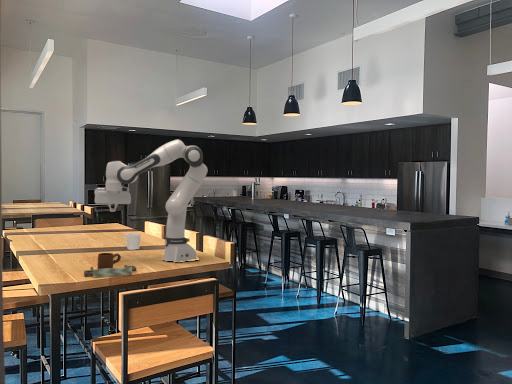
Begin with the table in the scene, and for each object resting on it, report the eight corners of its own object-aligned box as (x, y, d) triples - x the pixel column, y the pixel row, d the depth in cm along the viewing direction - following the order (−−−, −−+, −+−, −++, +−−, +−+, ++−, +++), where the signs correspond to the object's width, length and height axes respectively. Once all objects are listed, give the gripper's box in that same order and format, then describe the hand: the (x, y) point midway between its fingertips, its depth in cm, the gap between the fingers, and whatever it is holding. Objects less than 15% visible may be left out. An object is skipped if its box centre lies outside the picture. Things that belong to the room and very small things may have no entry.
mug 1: (117, 268, 223) (117, 251, 222) (123, 271, 217) (123, 253, 217) (95, 271, 214) (95, 253, 214) (100, 274, 209) (101, 255, 208)
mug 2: (142, 248, 287) (142, 233, 286) (137, 250, 278) (137, 235, 277) (126, 247, 288) (127, 233, 287) (121, 249, 279) (121, 234, 278)
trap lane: (133, 267, 226) (133, 260, 226) (139, 274, 211) (139, 267, 210) (83, 270, 214) (83, 263, 214) (85, 278, 199) (85, 270, 199)
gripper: (95, 187, 234) (94, 212, 234) (131, 188, 243) (131, 212, 243) (94, 187, 239) (93, 211, 240) (130, 188, 248) (129, 211, 249)
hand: (112, 211), depth 242 cm, fingers closed
